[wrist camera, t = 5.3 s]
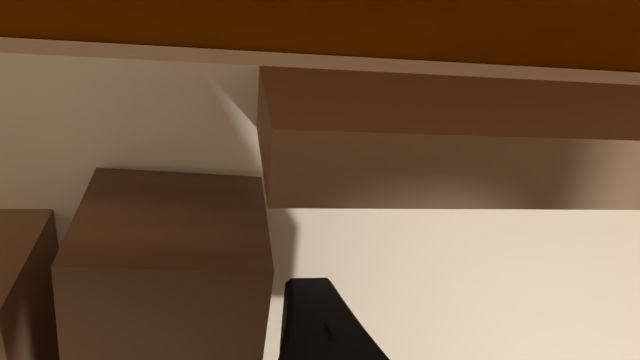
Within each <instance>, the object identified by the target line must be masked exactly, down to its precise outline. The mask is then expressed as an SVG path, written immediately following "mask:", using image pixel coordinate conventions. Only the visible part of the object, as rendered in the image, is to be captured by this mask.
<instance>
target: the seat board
mask: <svg viewBox="0 0 640 360" xmlns="http://www.w3.org/2000/svg"><path fill="white" fill-rule="evenodd" d="M96 167H97V168H115V169H132V170H150V171H167V172H185V173H202V174H220V175H237V176H255V177H262V184H263V191H264V199H265V206H266V213H267V221H268V228H269V236H270V243H271V251H272V258H273V266H274V278H273V286H272V293H271V301H270V309H269V316H268V324H267V332H266V339H265V347H264V355H263V360H278V358H279V354H280V338H281V326H282V314H283V302H284V291H285V283H286V282H287V281H288V280H289V279H291V278H328V279H329V280H330V281H331V282H332V284H333V285H334V287H335V288H336V290H337V291H338V293H339V294H340V296H341V297H342V298H343V300H344V301H345V303H346V304H347V306H348V307H349V308H350V310H351V311H352V313H353V314H354V315H355V317H356V318H357V319H358V321H359V322H360V323H361V325H362V326H363V327H364V329H365V330H366V331H367V332H368V334H369V335H370V336H371V337H372V339H373V340H374V341H375V342H376V344H377V345H378V346H379V347H380V348H381V350H382V351H383V352H384V353H385V355H386V356H387V357H388V358H389V359H390V360H640V73H639V72H621V71H603V70H585V69H567V68H549V67H531V66H513V65H495V64H477V63H459V62H441V61H423V60H405V59H386V58H368V57H350V56H332V55H314V54H296V53H278V52H260V51H242V50H224V49H206V48H188V47H170V46H152V45H134V44H116V43H98V42H80V41H62V40H44V39H26V38H8V37H0V360H60V359H59V348H58V337H57V326H56V315H55V304H54V293H53V282H52V271H51V266H52V264H53V261H54V259H55V257H56V255H57V253H58V250H59V248H60V246H61V244H62V242H63V239H64V237H65V235H66V233H67V231H68V228H69V226H70V224H71V222H72V220H73V217H74V215H75V213H76V211H77V209H78V206H79V204H80V202H81V200H82V198H83V195H84V193H85V191H86V189H87V187H88V184H89V182H90V180H91V178H92V175H93V173H94V171H95V169H96Z"/></svg>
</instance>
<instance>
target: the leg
mask: <svg viewBox="0 0 640 360" xmlns="http://www.w3.org/2000/svg"><path fill="white" fill-rule="evenodd" d="M51 271H52V282H53V293H54V304H55V315H56V326H57V337H58V348H59V359H60V360H263V355H264V347H265V339H266V332H267V324H268V316H269V309H270V301H271V293H272V286H273V278H274V266H273V258H272V251H271V243H270V236H269V228H268V221H267V213H266V206H265V199H264V191H263V184H262V177H255V176H237V175H220V174H202V173H185V172H167V171H150V170H132V169H115V168H97V167H96V169H95V171H94V173H93V175H92V178H91V180H90V182H89V184H88V187H87V189H86V191H85V193H84V195H83V198H82V200H81V202H80V204H79V206H78V209H77V211H76V213H75V215H74V217H73V220H72V222H71V224H70V226H69V228H68V231H67V233H66V235H65V237H64V239H63V242H62V244H61V246H60V248H59V250H58V253H57V255H56V257H55V259H54V261H53V264H52V266H51Z"/></svg>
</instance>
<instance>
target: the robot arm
mask: <svg viewBox="0 0 640 360" xmlns="http://www.w3.org/2000/svg"><path fill="white" fill-rule="evenodd" d="M278 360H390V359H389V358H388V357H387V356H386V355H385V353H384V352H383V351H382V350H381V348H380V347H379V346H378V345H377V344H376V342H375V341H374V340H373V339H372V337H371V336H370V335H369V334H368V332H367V331H366V330H365V329H364V327H363V326H362V325H361V323H360V322H359V321H358V319H357V318H356V317H355V315H354V314H353V313H352V311H351V310H350V308H349V307H348V306H347V304H346V303H345V301H344V300H343V298H342V297H341V296H340V294H339V293H338V291H337V290H336V288H335V287H334V285H333V284H332V282H331V281H330V280H329V279H328V278H291V279H289V280H288V281H287V282H286V283H285V291H284V302H283V314H282V326H281V338H280V354H279V358H278Z"/></svg>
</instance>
